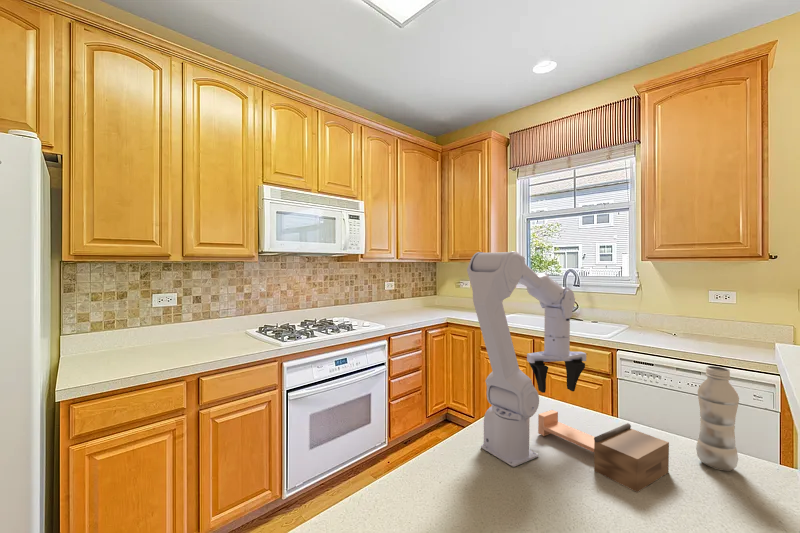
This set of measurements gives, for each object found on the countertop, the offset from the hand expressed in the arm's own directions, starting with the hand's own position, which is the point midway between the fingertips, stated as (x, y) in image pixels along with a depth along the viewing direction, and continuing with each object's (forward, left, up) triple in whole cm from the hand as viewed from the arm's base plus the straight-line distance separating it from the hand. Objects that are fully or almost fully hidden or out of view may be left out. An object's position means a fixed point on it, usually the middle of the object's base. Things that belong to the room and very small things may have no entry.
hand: (556, 390), depth 91 cm
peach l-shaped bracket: (+6, -3, -10) cm, 12 cm away
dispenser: (+19, -3, -10) cm, 22 cm away
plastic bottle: (+27, +14, -10) cm, 32 cm away
